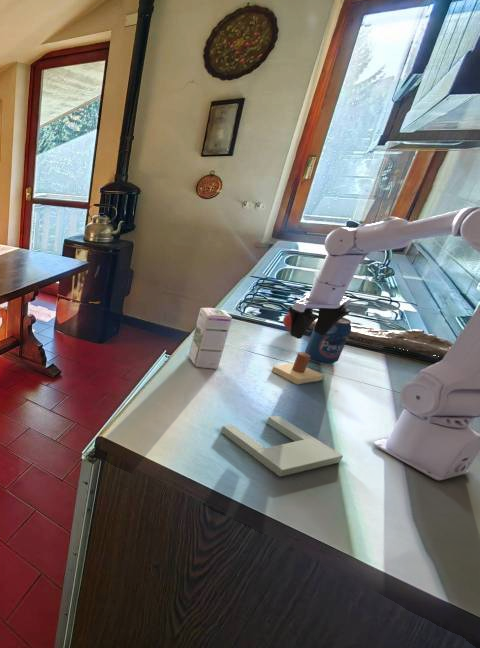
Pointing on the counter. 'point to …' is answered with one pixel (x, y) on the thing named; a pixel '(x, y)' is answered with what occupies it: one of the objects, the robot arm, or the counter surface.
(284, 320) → the red round piece
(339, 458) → the notched mat
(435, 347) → the driftwood log
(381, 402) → the counter surface
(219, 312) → the syrup box
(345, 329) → the soda can
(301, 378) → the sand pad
